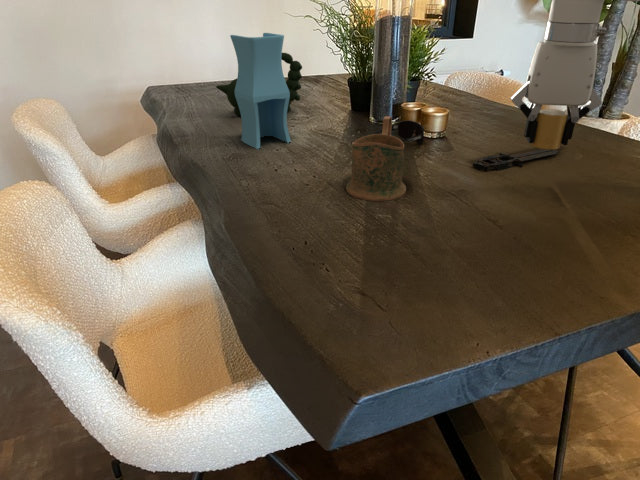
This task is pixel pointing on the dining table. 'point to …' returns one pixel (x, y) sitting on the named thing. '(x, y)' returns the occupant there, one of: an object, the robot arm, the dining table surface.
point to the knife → (510, 159)
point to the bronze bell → (377, 166)
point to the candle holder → (550, 129)
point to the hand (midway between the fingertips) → (546, 141)
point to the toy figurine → (291, 83)
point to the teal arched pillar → (261, 88)
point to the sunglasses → (409, 131)
